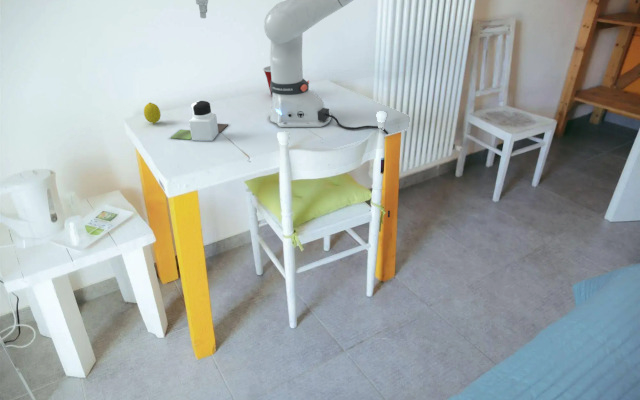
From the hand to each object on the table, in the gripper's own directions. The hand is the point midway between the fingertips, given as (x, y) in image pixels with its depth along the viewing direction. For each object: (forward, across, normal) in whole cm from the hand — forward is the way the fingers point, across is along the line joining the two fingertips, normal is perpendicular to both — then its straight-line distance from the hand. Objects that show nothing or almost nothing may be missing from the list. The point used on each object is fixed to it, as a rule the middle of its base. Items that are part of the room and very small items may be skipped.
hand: (204, 15), depth 153 cm
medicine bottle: (+36, -18, +1) cm, 40 cm away
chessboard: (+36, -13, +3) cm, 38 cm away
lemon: (+38, -2, +19) cm, 43 cm away
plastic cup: (+34, +20, -27) cm, 48 cm away
